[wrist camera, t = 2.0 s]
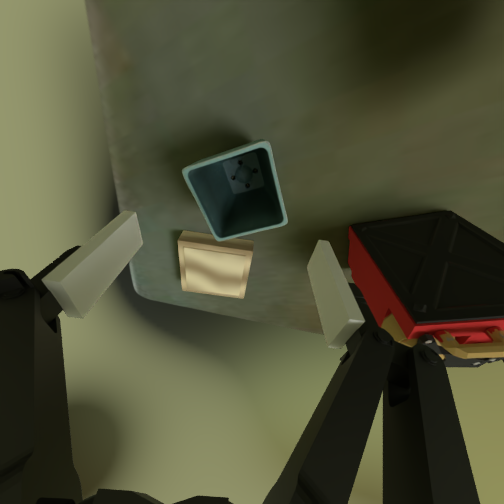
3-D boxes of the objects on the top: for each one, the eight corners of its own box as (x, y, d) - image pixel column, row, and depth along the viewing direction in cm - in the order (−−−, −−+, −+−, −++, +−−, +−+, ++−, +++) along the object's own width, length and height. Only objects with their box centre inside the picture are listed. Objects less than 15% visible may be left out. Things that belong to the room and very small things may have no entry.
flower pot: (267, 126, 24) (269, 138, 17) (282, 193, 29) (288, 225, 22) (201, 149, 26) (178, 169, 19) (227, 209, 31) (216, 242, 24)
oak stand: (183, 230, 34) (176, 241, 31) (253, 240, 35) (252, 252, 32) (186, 279, 41) (181, 291, 39) (244, 287, 42) (243, 299, 39)
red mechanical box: (341, 269, 38) (397, 394, 22) (346, 223, 32) (427, 349, 16) (436, 258, 35) (574, 390, 20) (460, 206, 29) (689, 336, 13)
